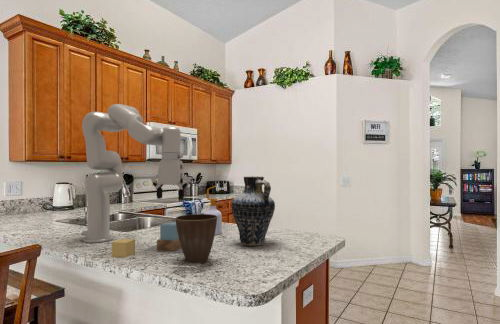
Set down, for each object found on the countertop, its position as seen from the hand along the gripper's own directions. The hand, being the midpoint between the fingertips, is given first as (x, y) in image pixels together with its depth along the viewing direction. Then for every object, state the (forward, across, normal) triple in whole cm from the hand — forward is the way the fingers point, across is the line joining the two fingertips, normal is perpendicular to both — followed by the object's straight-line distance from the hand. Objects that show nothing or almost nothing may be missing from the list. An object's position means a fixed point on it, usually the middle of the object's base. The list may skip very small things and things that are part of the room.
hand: (170, 198), depth 133 cm
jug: (+21, -32, -18) cm, 42 cm away
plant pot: (+21, -18, +13) cm, 30 cm away
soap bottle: (+21, -6, -36) cm, 42 cm away
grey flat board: (+21, -1, 0) cm, 21 cm away
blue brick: (+16, 0, 0) cm, 16 cm away
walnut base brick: (+20, -1, 0) cm, 20 cm away
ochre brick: (+21, +12, +13) cm, 28 cm away
